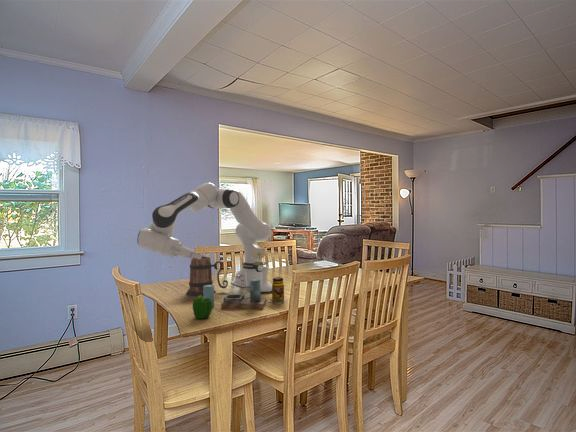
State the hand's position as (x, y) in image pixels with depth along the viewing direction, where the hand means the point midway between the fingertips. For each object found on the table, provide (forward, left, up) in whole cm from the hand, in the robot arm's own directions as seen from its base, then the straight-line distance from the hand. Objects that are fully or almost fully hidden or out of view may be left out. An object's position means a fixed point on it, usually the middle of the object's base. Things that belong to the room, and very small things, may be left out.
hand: (201, 257), depth 155 cm
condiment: (+18, +33, -25) cm, 45 cm away
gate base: (+11, +17, -24) cm, 31 cm away
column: (-1, +5, -24) cm, 25 cm away
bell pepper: (+10, -7, -25) cm, 27 cm away
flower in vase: (-2, +44, -25) cm, 50 cm away
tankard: (-25, +22, -25) cm, 42 cm away
